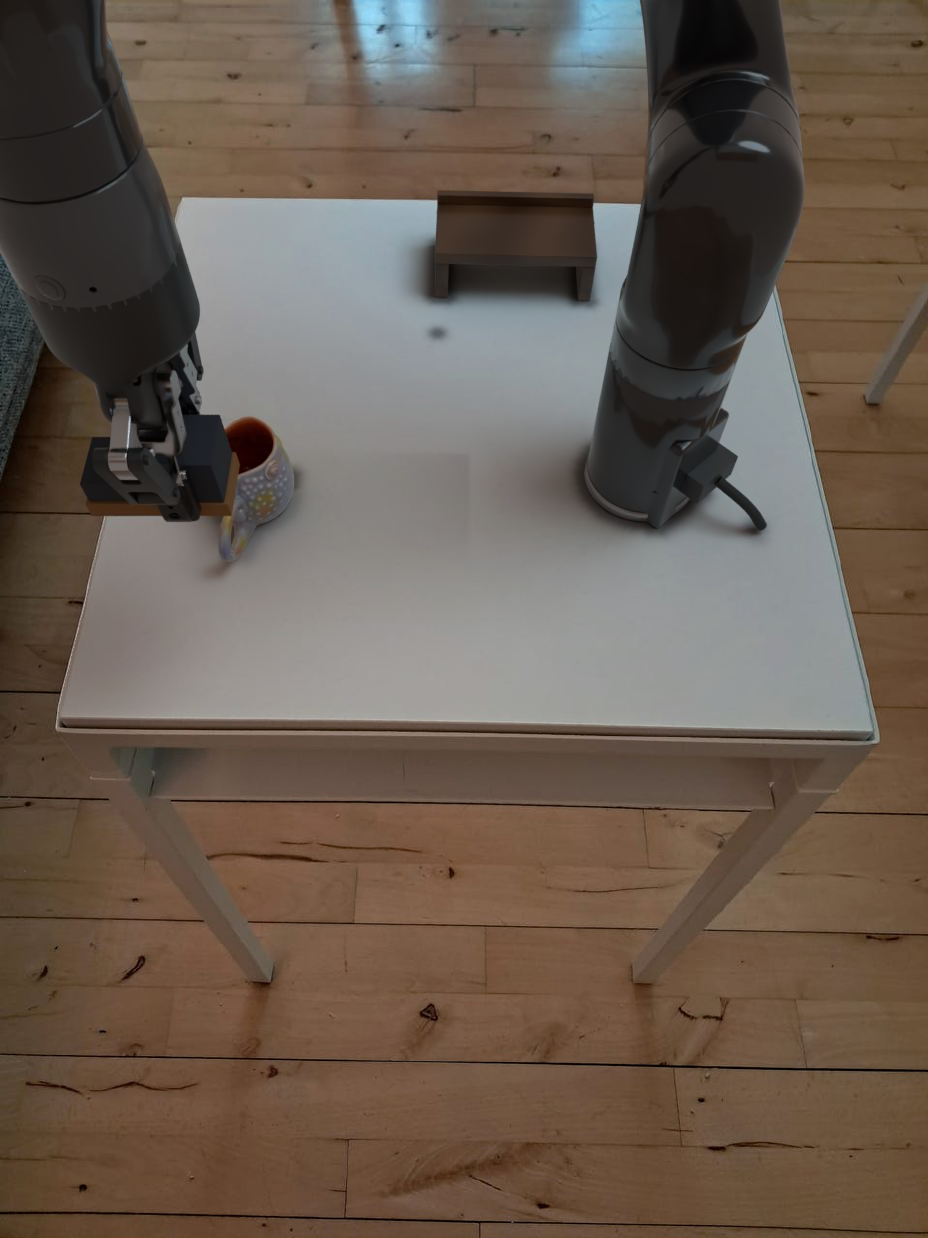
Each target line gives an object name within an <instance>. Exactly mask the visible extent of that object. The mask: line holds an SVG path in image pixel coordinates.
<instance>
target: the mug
mask: <svg viewBox="0 0 928 1238" xmlns="http://www.w3.org/2000/svg"><path fill="white" fill-rule="evenodd" d="M224 429H225V432H226V436H227V439H228V442H229V445H230V448H231V451H232V452H236V454H237V458H238V461H239V464H240V466H239V473H238V479H237V486H236V492H235V499H234V505H233V512H232V516H222V519H221V523H220V527H219V533H218V543H217V550H218V556H219V557H220V559H221V560H223V561H224V562H226V563H232V562H235V561H236V560H237V559H238V558H239V557H240V556H241V555H242V553H243V551H244V550H245V548H246V546H247V544H248V542H249V540H250V538H251V536H252V534H253V533H254V532H255V529H256V527H257V526H259V525H262V524H263V525H264V524H265V523H268V522H271V521H272V520H274V519H276V518H277V517H278V516H279V515H280V514H282V512H284V511H285V509H286V508H287V506H288V505H289V503H290V502H291V499H292V496H293V493H294V490H295V489H294V488H295V474H294V469H293V465H292V462H291V459H290V457H289V455H288V453H287V451H286V450H285V448H284V445H283V442H282V440H281V438H280V437H279V436H278V435H277V434H276V433H275V431H274V430H273V428H272V427H271V426H270V425H269V424H268V423H266V422H265V421H263V420H262V419H260V418H257V417H255V416H242V417H240V418H237V419H235V420H233V421H232V422H230V423H229V424H227V426H225V427H224ZM232 530H233V531H234V533H233V539H232Z"/></svg>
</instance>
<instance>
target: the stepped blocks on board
mask: <svg viewBox="0 0 928 1238" xmlns="http://www.w3.org/2000/svg"><path fill="white" fill-rule="evenodd" d="M182 416H183V420H184V425H185V429H186V433H187V438H186V441H185V444H184V446H183V449H182V454H183V458H184V462H185V466H186V470H187V472H188V475H189V477H190V480H191V482H192V485H193V487H194V490H195V493H196V495H197V498H198V500H199V503H200V506H201V514H200V517H223V516H232V512H233V505H234V499H235V492H236V486H237V479H238V473H239V466H240V464H239V461H238V458H237V454H236V452H232V451H231V448H230V445H229V442H228V439H227V436H226V432H225V429H224V428H225V427H224V423H223V420H222V417H221V415H220V414H200V415H182ZM160 430H168V427H167V425H166V426H165V427H164V428H162V429H160ZM110 438H111V436H92V437H91V439H90V444H89V448H88V451H87V456H86V459H85V463H84V466H83V470H82V474H81V478H80V481H79V486H80V488H81V489H82V491H83V493H84V495H85V496H86V500H85V506H86V509H87V510H88V511H89V513H90V516H91V517H162V515H161V513H160V511H159V508H158V506H157V505H131V504H130V503H129V502H127V501H126V500H125V499H124V498H123V497H122V496H121V495H120V494H119V493H118V492H117V491H116V490H115V489H114V488H113V487H111V486H110V485H109V484H108V483H107V482H106V481H105V480H104V479H103V478H102V477H101V476H100V475H99V474H98V473H97V472H96V471H95V470H94V467H93V463H92V453H93V450H94V449H95V448H110ZM155 458H156V459H157V461H158V462H159V463H160V464H169V463H168V459H167V457H166V456H165V455H163V454H155Z"/></svg>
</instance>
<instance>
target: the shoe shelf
mask: <svg viewBox="0 0 928 1238" xmlns="http://www.w3.org/2000/svg"><path fill="white" fill-rule="evenodd" d="M594 204H595V194H594V193H584V192H583V193H582V192H581V193H580V192H543V191H539V192H537V191H498V190H497V191H491V190H490V191H489V190H444V189H438V190H436V222H435V226H436V227H435V245H434V246H435V247H434V276H435V277H434V278H435V279H434V281H435V282H434V283H435V285H434V287H435V298H437V299H448V298H449V277H450V275H449V272H450V265H477V266H478V265H481V266H482V265H483V266H484V265H485V266H529V267H533V266H534V267H571V268H573V267H574V268H575V276H576V291H577V301H581V302H590V301H591V299H592V291H593V285H594V279H595V278H594V277H595V273H596V266H597V261H598V252H597V251H598V250H597V239H596V238H597V237H596V227H595V215H594Z"/></svg>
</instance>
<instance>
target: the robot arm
mask: <svg viewBox="0 0 928 1238" xmlns="http://www.w3.org/2000/svg"><path fill="white" fill-rule="evenodd" d="M639 5H640V11H641V18H642V19H641V20H642V24H643V25H642V27H643V35H644V36H643V37H644V47H645V49H644V50H645V63H646V78H647V107H648V110H647V111H648V112H647V113H648V115H647V116H648V117H647V133H646V143H645V157H644V169H643V170H644V171H643V182H642V183H643V186H642V187H643V188H642V196H641V202H640V207H639V213H638V217H637V218H638V219H637V224H636V230H635V234H634V239H633V244H632V250H631V254H630V258H629V264H628V270H627V273H626V274H627V275H626V276H625V278H624V279H623V282H622V284H621V287H620V292H619V297H618V304H617V308H616V313H615V318H614V324H613V329H612V334H611V340H610V344H609V349H608V353H607V360H606V364H605V370H604V375H603V380H602V384H601V389H600V395H599V400H598V403H597V404H598V405H597V411H596V416H595V420H594V426H593V429H592V436H591V442H590V446H589V451H588V453H587V457H586V461H585V466H584V481H585V485H586V488H587V490H588V492H589V494H590V495H591V497H592V498H593V499H594V501H596V502H597V504H598V505H600V506H601V507H602V508H603V509H605V510H606V511H608V512H609V513H611V514H612V515H615V516H618V517H619V518H622V519H626V520H630V521H635V522H636V521H637V522H646V523H648V524H650V525H651V526H652V527H654V528H656V529H658V528H660V527H661V526H662V525H664V524H665V523H666V522H667V521H669V520H670V519H671V518H672V517H673V516H674V515H676V514H677V513H678V512H680V511H681V510H682V509H683V508H684V507H685V506H686V505H687V504H688V503H689V502H691V501H692V502H693V503H695V504H697V505H699V503H700V502H702V501H703V500H704V499H705V498H706V497H707V496H709V494H711V493H712V492H713V491H714V490H715V489H716V488H717V489H718V490H720V491H721V492H722V493H724V494H725V495H726V496H727V497H728V498H729V499H730V500H732V501H733V502H734V503H735V504H737V505H738V506H739V507H740V508H741V509H742V510H743V511H744V512H745V513H746V515H747V516H748V517H749V519H750V520H751V522H752V524H753V525H754V527H755V529H756V530H757V531H759V532H760V531H761V532H762V531H763V530H765V529H766V528H767V527H768V523H767V522H766V519H765V518H764V516H763V515H762V513H761V512H760V510H759V508H758V507H757V506H756V505H755V504H754V503H753V502H752V501H751V499H749V498H748V497H747V496H746V495H745V494H743V493H742V492H741V491H740V490H739V489H737V487H735V486H734V485H733V484H732V483H731V482H729V481H728V480H727V479H728V478H729V477H731V475H732V473H733V471H734V468H735V466H736V463H737V461H738V458H739V456H738V455H737V454H735V452H733V451H731V450H730V449H729V448H727V447H726V446H724V445H723V444H721V443H720V442H721V439H722V436H723V434H724V431H725V428H726V425H727V423H728V420H729V417H730V413H729V411H727V410H726V409H725V408H723V404H724V401H725V398H726V394H727V393H728V389H729V387H730V384H731V381H732V378H733V375H734V372H735V370H736V367H737V364H738V362H739V358H740V355H741V353H742V350H743V348H744V345H745V343H746V341H747V337H748V335H749V333H750V332H751V331H752V330H753V329H754V328H755V327H756V326H757V324H758V323H759V322H760V320H761V318H762V317H763V315H764V313H765V311H766V308H767V306H768V304H769V302H770V299H771V297H772V294H773V291H774V289H775V287H776V284H777V282H778V279H779V277H780V275H781V272H782V270H783V267H784V265H785V262H786V260H787V257H788V254H789V252H790V250H791V247H792V244H793V242H794V239H795V236H796V233H797V231H798V227H799V224H800V220H801V217H802V216H801V215H802V212H803V208H804V201H805V191H806V184H805V169H804V155H803V154H804V153H803V139H802V127H801V126H802V125H801V121H800V114H799V109H798V104H797V100H796V95H795V91H794V84H793V80H792V74H791V73H792V72H791V68H790V63H789V55H788V50H787V49H788V48H787V44H786V43H787V42H786V36H785V35H786V34H785V27H784V22H783V11H782V5H781V0H639ZM107 23H108V21H107V0H0V255H1V257H2V259H3V261H4V263H5V265H6V267H7V268H8V271H9V273H10V275H11V277H12V279H13V280H14V283H15V284H16V287H17V288H18V290H19V292H20V294H21V297H22V298H23V300H24V302H25V304H26V306H27V309H28V310H29V312H30V314H31V316H32V318H33V320H34V323H35V324H36V326H37V328H38V330H39V332H40V334H41V336H42V338H43V340H44V342H45V344H46V346H47V348H48V350H49V351H50V352H51V353H52V355H53V356H54V357H55V358H56V359H58V361H59V362H61V363H63V364H64V365H66V366H67V367H69V368H71V369H72V370H74V371H76V372H77V373H79V374H81V375H83V376H84V377H86V378H87V379H89V380H90V381H91V382H92V383H93V385H94V390H95V393H96V397H97V399H98V403H99V408H100V411H101V413H102V415H103V416H104V418H105V419H106V420H107V421H108V422H109V423H110V426H111V427H110V437H111V438H110V448H95V449H94V450H93V453H92V463H93V467H94V470H95V471H96V472H97V473H98V474H99V475H100V476H101V477H102V478H103V479H104V480H105V481H106V482H107V483H108V484H109V485H110V486H111V487H113V488H114V489H115V490H116V491H117V492H118V493H119V494H120V495H121V496H122V497H123V498H124V499H125V500H126V501H127V502H129V503H130V504H131V505H157V506H158V508H159V511H160V513H161V515H162V516H161V517H162V519H163V520H164V521H165V522H166V523H191V522H198V521H200V518H201V516H200V514H201V506H200V503H199V500H198V498H197V495H196V493H195V490H194V487H193V485H192V482H191V480H190V477H189V475H188V472H187V470H186V466H185V462H184V458H183V454H182V449H183V446H184V444H185V441H186V438H187V433H186V429H185V425H184V420H183V416H182V415H201V412H200V411H201V408H202V404H203V399H202V395H201V392H200V391H199V389H198V387H197V382H201V381H202V380H203V376H204V372H205V370H204V366H203V363H202V358H201V353H200V349H199V348H200V347H199V343H198V338H197V333H196V331H197V329H198V326H199V323H200V316H201V306H200V305H201V304H200V300H199V296H198V293H197V290H196V287H195V284H194V280H193V277H192V273H191V271H190V267H189V264H188V260H187V257H186V253H185V251H184V248H183V244H182V240H181V237H180V233H179V231H178V228H177V224H176V221H175V217H174V215H173V211H172V208H171V204H170V201H169V198H168V194H167V191H166V188H165V185H164V183H163V180H162V177H161V175H160V173H159V170H158V168H157V166H156V163H155V162H154V160H153V158H152V156H151V153H150V152H149V150H148V147H147V145H146V142H145V139H144V137H143V133H142V131H141V129H140V125H139V121H138V118H137V115H136V113H135V112H136V111H135V109H134V105H133V102H132V99H131V95H130V93H129V90H128V86H127V84H126V80H125V77H124V74H123V71H122V67H121V65H120V61H119V59H118V56H117V53H116V49H115V46H114V43H113V42H112V38H111V37H110V36H111V35H109V31H108V24H107ZM166 425H167V427H168V430H160V429H162V428H164V427H165V426H166ZM155 454H163V455H165V456H166V457H167V459H168V463H169V464H160V463H159V462H158V461H157V459H156V458H155Z"/></svg>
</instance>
